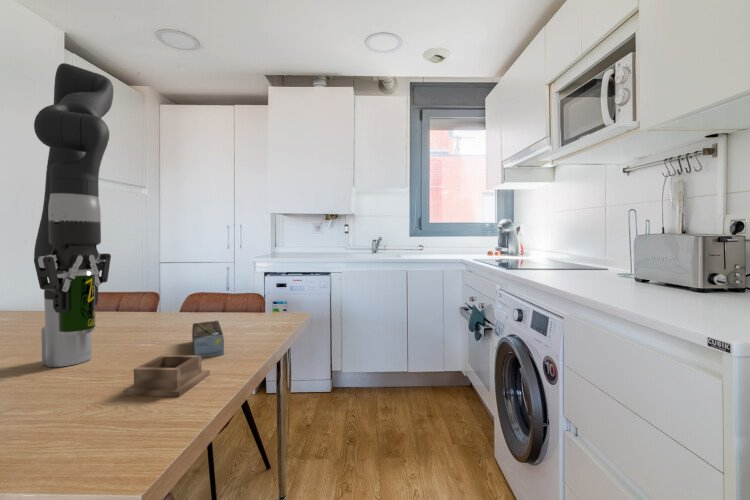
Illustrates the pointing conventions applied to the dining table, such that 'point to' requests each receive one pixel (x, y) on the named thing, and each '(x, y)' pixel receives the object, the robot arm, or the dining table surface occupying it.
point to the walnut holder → (167, 376)
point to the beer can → (79, 305)
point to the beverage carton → (207, 339)
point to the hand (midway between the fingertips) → (77, 308)
